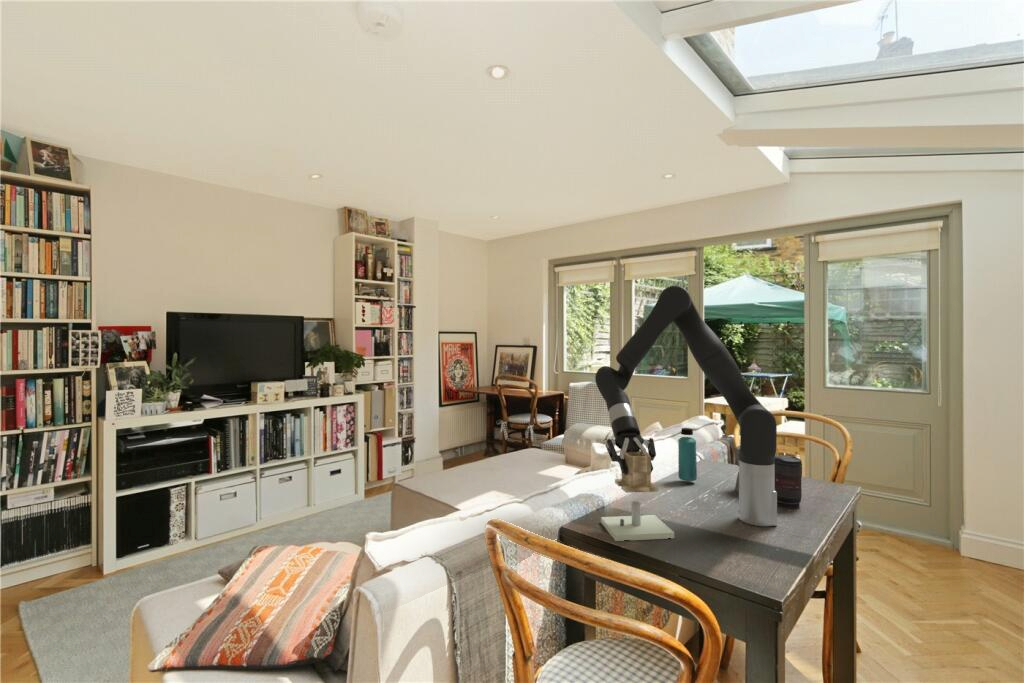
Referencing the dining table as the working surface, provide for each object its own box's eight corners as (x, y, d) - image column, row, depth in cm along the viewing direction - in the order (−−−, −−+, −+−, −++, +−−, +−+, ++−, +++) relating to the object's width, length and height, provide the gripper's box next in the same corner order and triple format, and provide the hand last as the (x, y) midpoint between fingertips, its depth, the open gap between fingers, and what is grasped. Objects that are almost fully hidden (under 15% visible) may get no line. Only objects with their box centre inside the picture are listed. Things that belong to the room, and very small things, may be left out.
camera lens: (786, 510, 147) (786, 461, 147) (767, 501, 155) (767, 455, 155) (808, 508, 149) (808, 460, 149) (788, 500, 157) (788, 454, 157)
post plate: (654, 520, 139) (654, 494, 139) (674, 538, 126) (674, 509, 126) (600, 522, 138) (600, 496, 138) (615, 541, 125) (615, 512, 125)
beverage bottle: (698, 485, 172) (698, 430, 172) (679, 484, 174) (679, 429, 174) (695, 480, 179) (695, 427, 179) (676, 479, 180) (676, 426, 180)
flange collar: (645, 481, 137) (645, 450, 137) (658, 491, 128) (658, 457, 128) (614, 482, 136) (614, 451, 136) (625, 492, 127) (625, 458, 127)
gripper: (602, 415, 139) (615, 467, 127) (650, 414, 140) (667, 465, 128) (597, 430, 144) (609, 481, 132) (643, 429, 146) (659, 479, 134)
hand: (638, 473), depth 130 cm, fingers closed on flange collar, 6 cm apart
